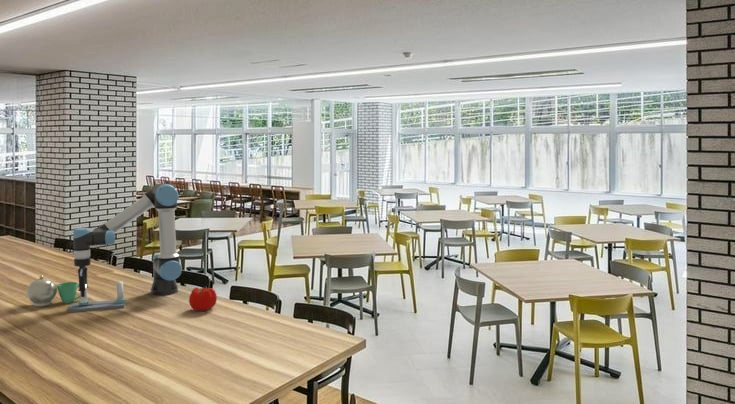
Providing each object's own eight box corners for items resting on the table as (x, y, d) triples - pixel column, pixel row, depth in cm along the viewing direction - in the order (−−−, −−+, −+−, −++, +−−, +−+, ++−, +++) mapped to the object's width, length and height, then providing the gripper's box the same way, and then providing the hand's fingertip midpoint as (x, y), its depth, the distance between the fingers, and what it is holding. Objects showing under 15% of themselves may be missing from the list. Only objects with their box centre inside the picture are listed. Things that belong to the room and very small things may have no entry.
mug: (58, 305, 284) (58, 287, 283) (56, 301, 292) (56, 283, 291) (89, 301, 292) (88, 283, 292) (86, 297, 300) (86, 280, 300)
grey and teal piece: (125, 301, 292) (125, 279, 291) (124, 307, 281) (123, 284, 280) (72, 306, 283) (71, 283, 282) (68, 312, 272) (67, 288, 271)
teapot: (63, 304, 287) (62, 274, 286) (38, 310, 275) (37, 279, 274) (42, 299, 295) (41, 270, 294) (17, 305, 283) (16, 275, 281)
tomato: (221, 307, 284) (221, 286, 283) (203, 314, 271) (202, 292, 270) (202, 304, 289) (202, 283, 288) (183, 311, 276) (182, 289, 275)
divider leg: (89, 303, 282) (88, 283, 281) (88, 304, 279) (87, 284, 278) (79, 304, 280) (79, 284, 279) (78, 305, 278) (78, 285, 277)
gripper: (76, 255, 284) (78, 298, 286) (71, 261, 269) (73, 306, 271) (92, 254, 286) (93, 297, 288) (88, 260, 271) (89, 305, 273)
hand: (83, 301), depth 280 cm, fingers closed on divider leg, 3 cm apart
